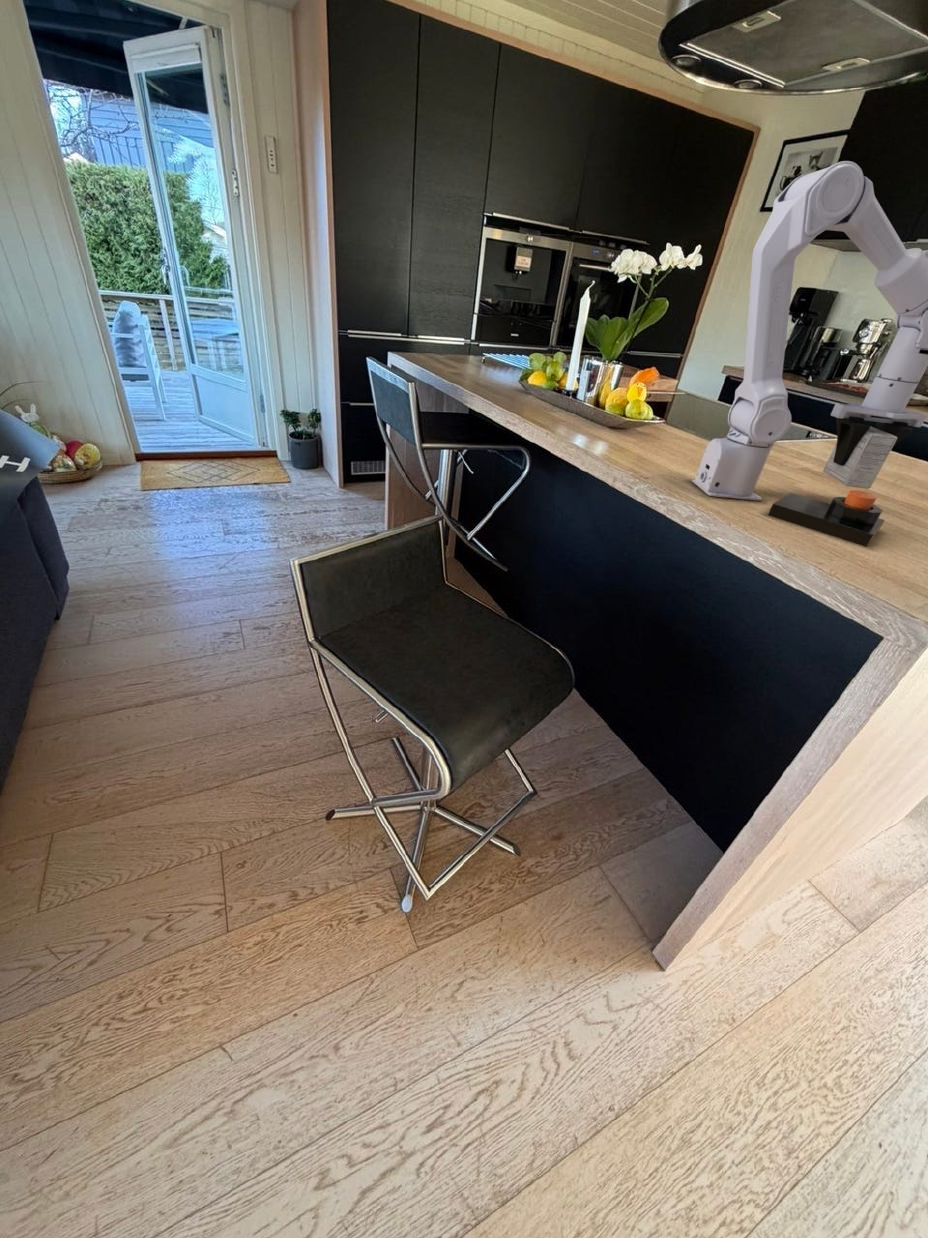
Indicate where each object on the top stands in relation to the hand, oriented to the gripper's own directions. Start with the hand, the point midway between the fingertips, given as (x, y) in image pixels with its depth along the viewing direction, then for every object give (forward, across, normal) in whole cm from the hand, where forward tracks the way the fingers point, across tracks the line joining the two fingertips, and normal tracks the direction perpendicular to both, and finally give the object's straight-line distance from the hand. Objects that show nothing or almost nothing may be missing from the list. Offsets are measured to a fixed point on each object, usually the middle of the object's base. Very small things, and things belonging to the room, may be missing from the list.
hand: (852, 465), depth 89 cm
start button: (+3, -6, -12) cm, 14 cm away
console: (+7, -9, -11) cm, 16 cm away
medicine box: (+3, 0, 0) cm, 3 cm away
